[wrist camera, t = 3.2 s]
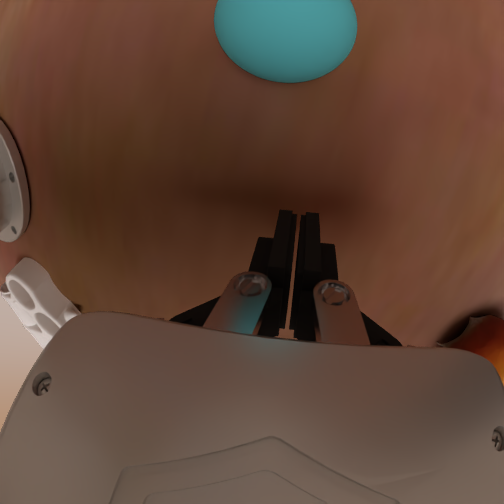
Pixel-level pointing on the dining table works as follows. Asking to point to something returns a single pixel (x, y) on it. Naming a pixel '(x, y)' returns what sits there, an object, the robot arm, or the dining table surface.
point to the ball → (286, 36)
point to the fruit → (483, 340)
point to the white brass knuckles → (37, 300)
